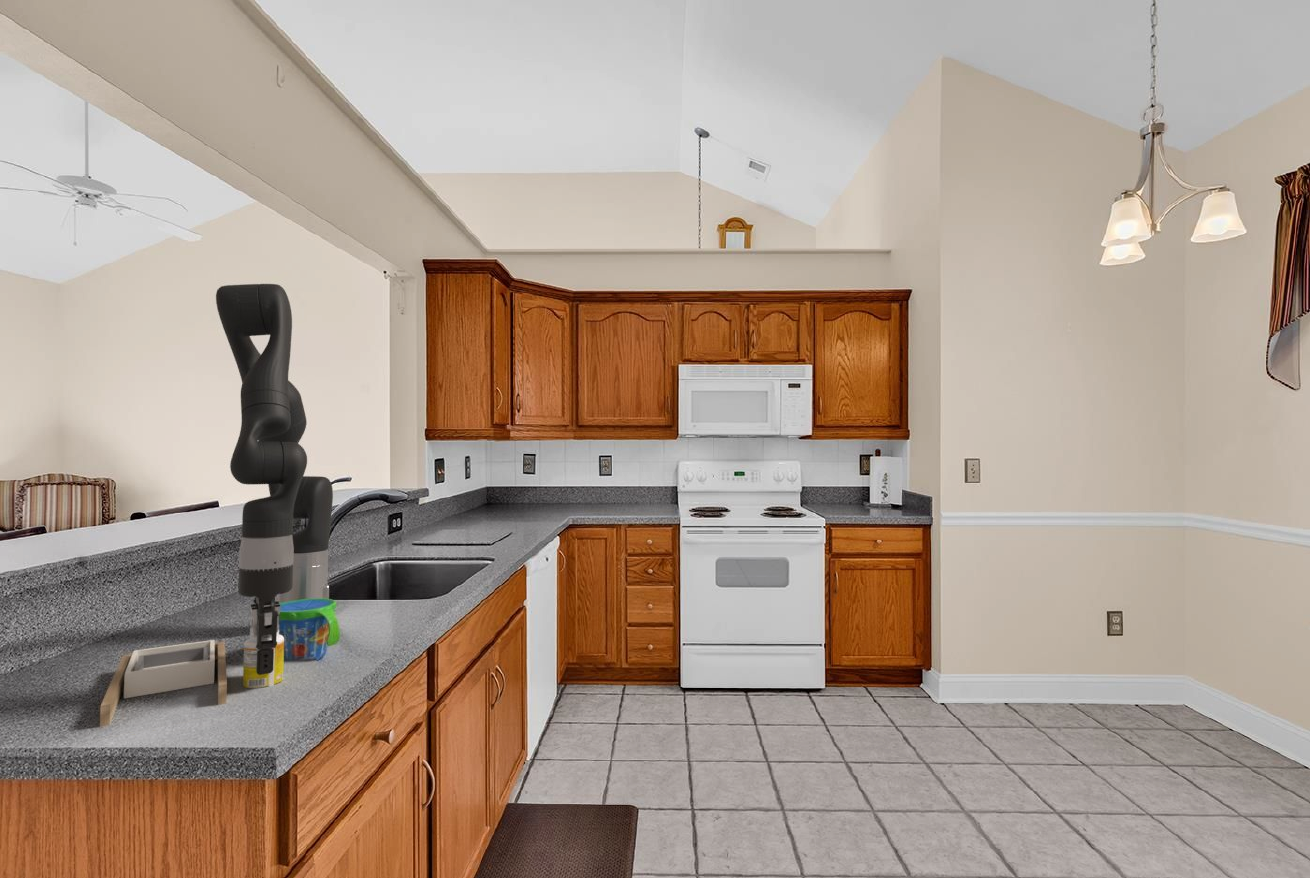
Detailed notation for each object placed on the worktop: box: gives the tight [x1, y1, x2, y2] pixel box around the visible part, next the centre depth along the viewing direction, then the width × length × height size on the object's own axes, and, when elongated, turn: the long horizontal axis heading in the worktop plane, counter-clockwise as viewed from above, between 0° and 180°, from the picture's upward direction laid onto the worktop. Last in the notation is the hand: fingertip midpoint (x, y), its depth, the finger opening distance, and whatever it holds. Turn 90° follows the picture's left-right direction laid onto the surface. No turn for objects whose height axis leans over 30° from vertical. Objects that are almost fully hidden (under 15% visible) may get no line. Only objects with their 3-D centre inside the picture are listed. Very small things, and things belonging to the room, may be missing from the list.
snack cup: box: [279, 598, 341, 661], centre depth 114 cm, size 16×10×10 cm
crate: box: [123, 639, 216, 699], centre depth 100 cm, size 11×13×4 cm
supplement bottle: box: [242, 626, 285, 689], centre depth 99 cm, size 6×6×10 cm
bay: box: [99, 640, 228, 728], centre depth 97 cm, size 14×25×4 cm, turn 36°
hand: (263, 667), depth 99 cm, fingers closed on supplement bottle, 5 cm apart
